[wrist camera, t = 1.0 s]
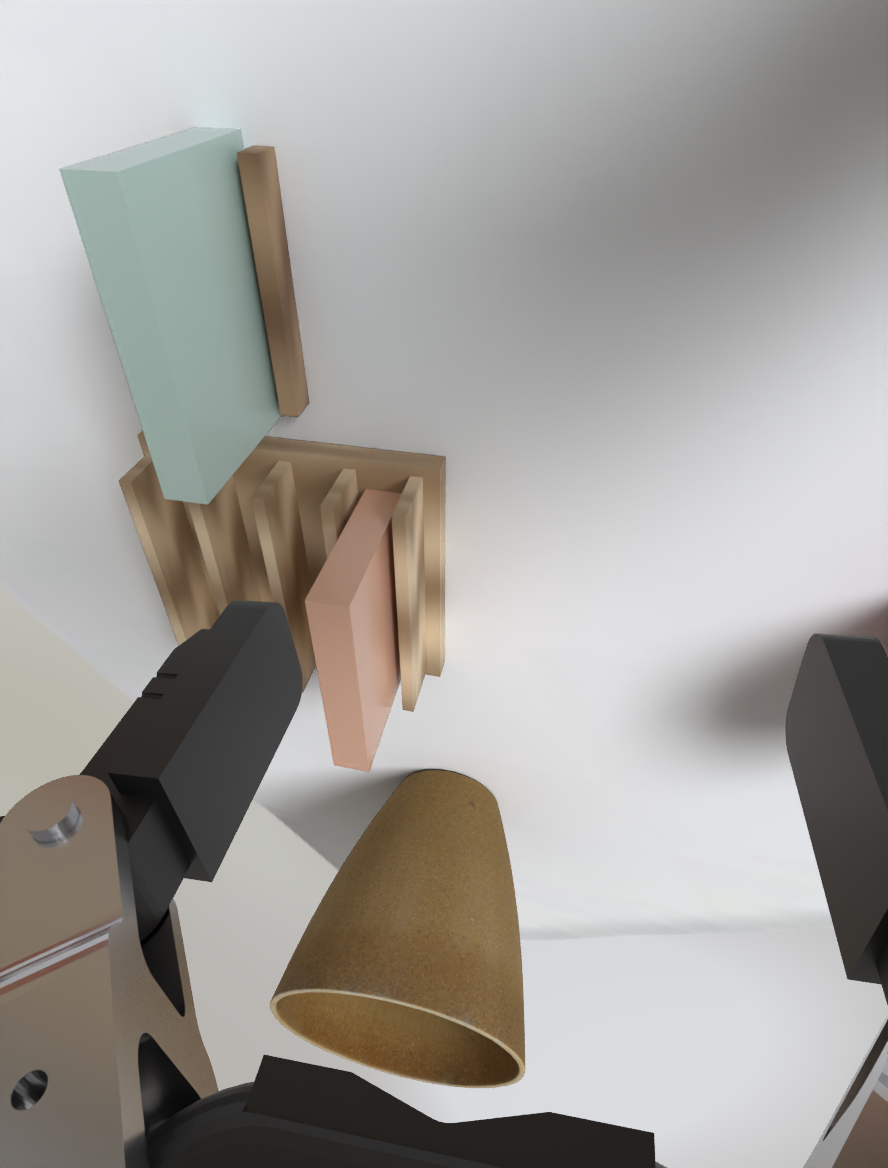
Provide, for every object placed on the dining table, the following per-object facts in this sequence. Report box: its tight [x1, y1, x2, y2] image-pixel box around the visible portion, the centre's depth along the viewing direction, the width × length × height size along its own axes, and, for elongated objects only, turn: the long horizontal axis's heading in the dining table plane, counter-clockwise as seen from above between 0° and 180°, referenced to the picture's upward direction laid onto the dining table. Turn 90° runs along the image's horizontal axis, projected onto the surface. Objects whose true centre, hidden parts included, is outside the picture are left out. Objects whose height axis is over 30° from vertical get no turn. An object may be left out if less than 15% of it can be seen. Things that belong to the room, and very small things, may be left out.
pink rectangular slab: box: [305, 489, 402, 772], centre depth 33 cm, size 11×2×8 cm, turn 0°
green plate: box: [60, 127, 282, 504], centre depth 25 cm, size 11×2×8 cm, turn 0°
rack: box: [119, 431, 445, 712], centre depth 36 cm, size 14×15×4 cm
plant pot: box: [270, 770, 525, 1088], centre depth 45 cm, size 15×15×16 cm
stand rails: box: [237, 146, 309, 417], centre depth 28 cm, size 10×4×1 cm, turn 0°
